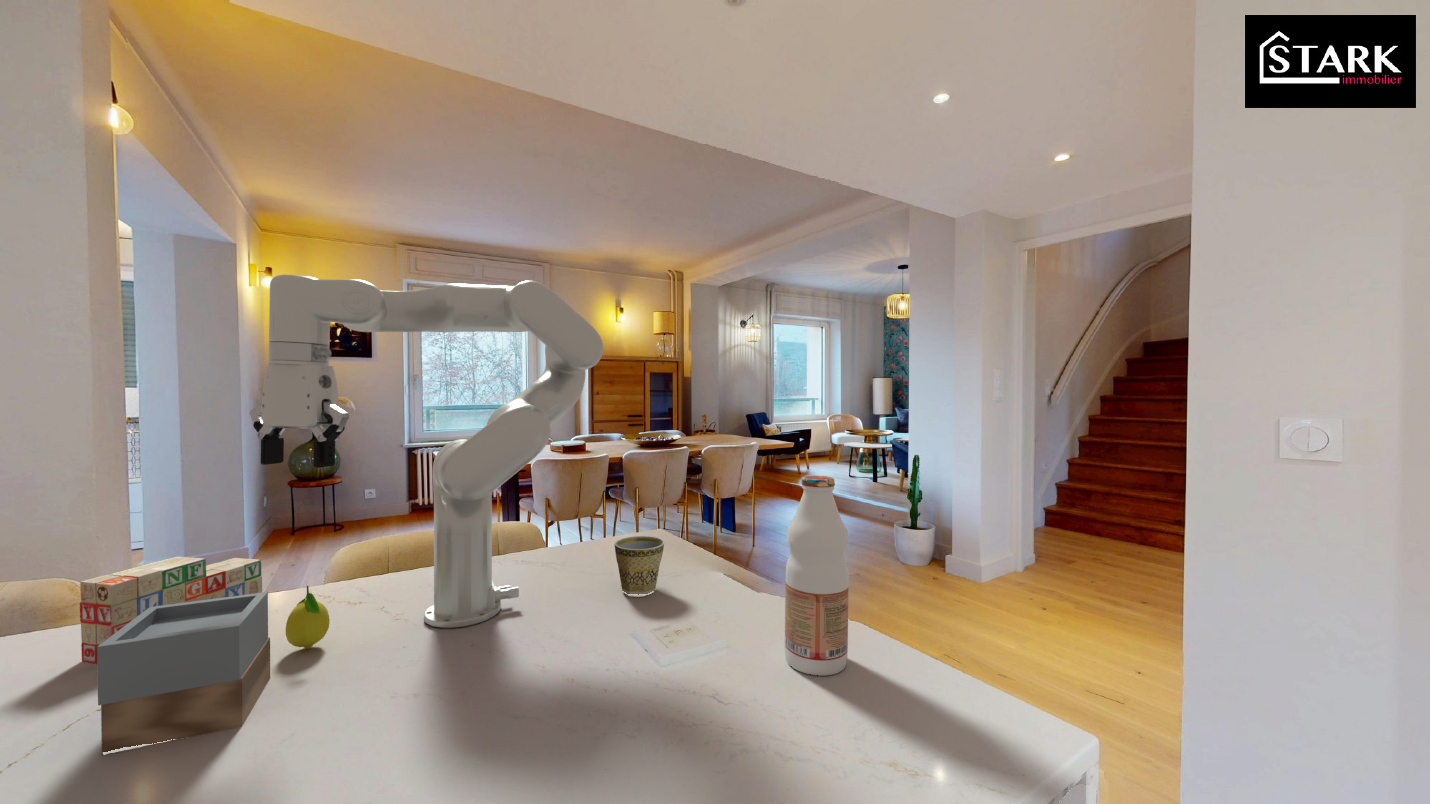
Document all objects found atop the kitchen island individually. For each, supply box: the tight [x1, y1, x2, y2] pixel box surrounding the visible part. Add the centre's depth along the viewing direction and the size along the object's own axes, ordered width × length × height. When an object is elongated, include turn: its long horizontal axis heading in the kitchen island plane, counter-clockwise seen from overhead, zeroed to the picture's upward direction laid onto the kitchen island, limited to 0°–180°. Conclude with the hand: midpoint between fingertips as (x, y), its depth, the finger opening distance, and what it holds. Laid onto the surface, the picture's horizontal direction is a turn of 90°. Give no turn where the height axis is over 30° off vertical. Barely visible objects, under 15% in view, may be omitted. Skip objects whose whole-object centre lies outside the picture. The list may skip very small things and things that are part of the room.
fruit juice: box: [784, 474, 850, 677], centre depth 81 cm, size 9×9×28 cm
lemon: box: [285, 585, 330, 650], centre depth 84 cm, size 7×6×10 cm
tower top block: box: [96, 591, 269, 706], centre depth 67 cm, size 12×12×6 cm
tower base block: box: [100, 637, 271, 753], centre depth 67 cm, size 12×12×6 cm
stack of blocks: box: [79, 556, 263, 665], centre depth 89 cm, size 21×6×12 cm, turn 168°
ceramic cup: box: [614, 535, 665, 595], centre depth 111 cm, size 13×10×10 cm
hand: (298, 465), depth 84 cm, fingers open, 9 cm apart
